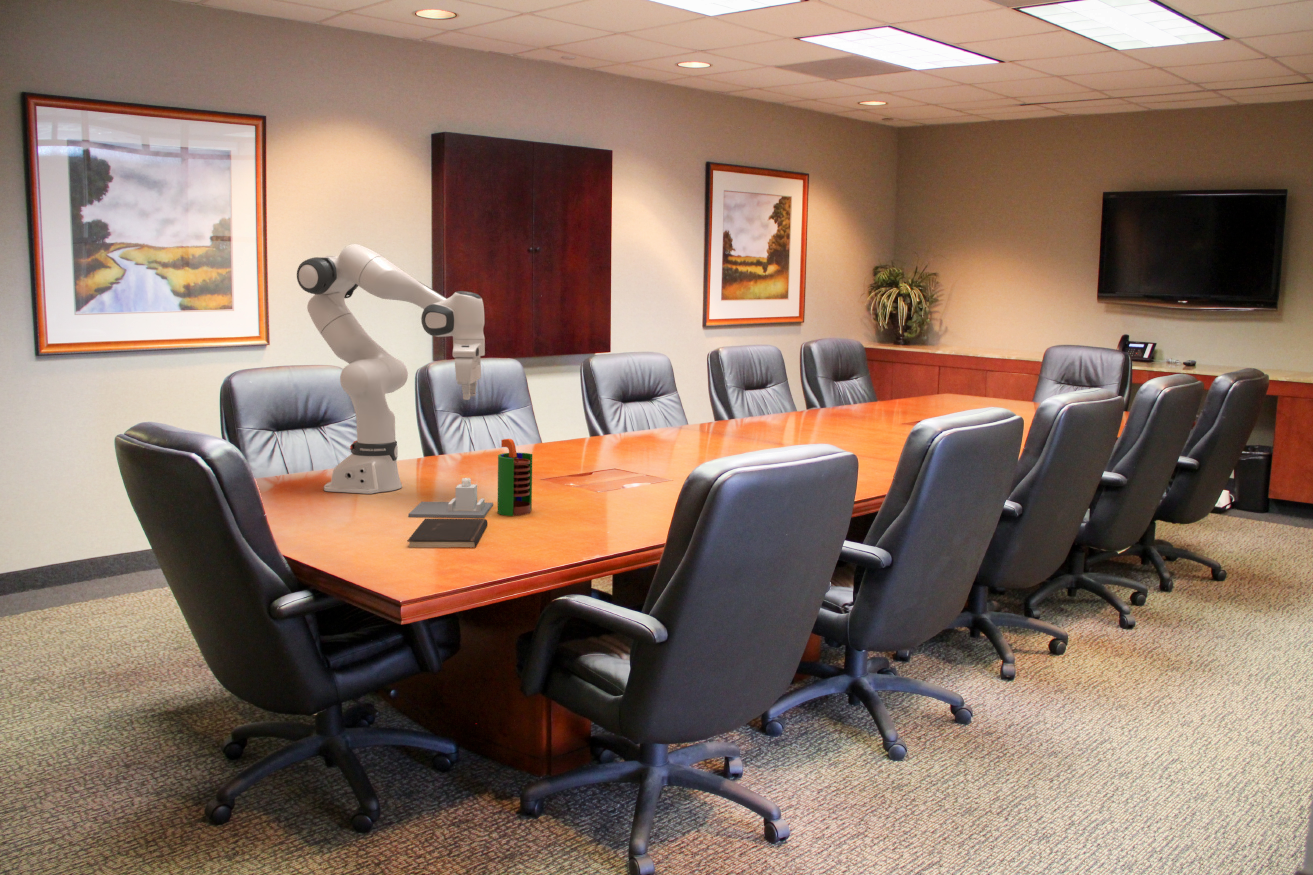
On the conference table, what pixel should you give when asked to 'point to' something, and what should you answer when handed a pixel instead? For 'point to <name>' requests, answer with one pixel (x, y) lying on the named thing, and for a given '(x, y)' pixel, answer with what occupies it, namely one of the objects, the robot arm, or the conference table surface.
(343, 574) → the conference table surface
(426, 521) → the hardcover book
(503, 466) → the motor
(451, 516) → the mounting plate
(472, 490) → the white cube with knob
